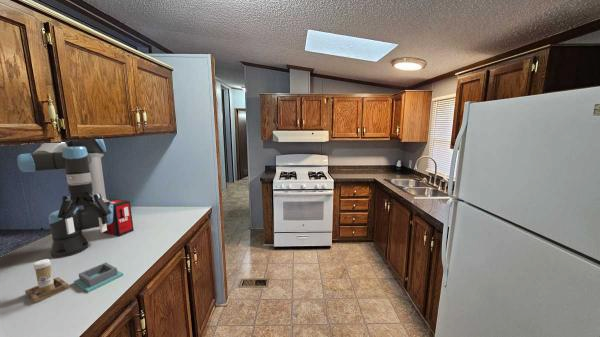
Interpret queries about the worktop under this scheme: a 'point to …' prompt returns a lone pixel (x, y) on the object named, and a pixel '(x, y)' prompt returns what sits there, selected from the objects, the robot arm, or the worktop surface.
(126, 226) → the cleaning product box
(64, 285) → the stand collar
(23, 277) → the worktop surface
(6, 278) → the worktop surface
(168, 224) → the worktop surface
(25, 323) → the worktop surface
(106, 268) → the plate
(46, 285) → the sprinkles bottle
